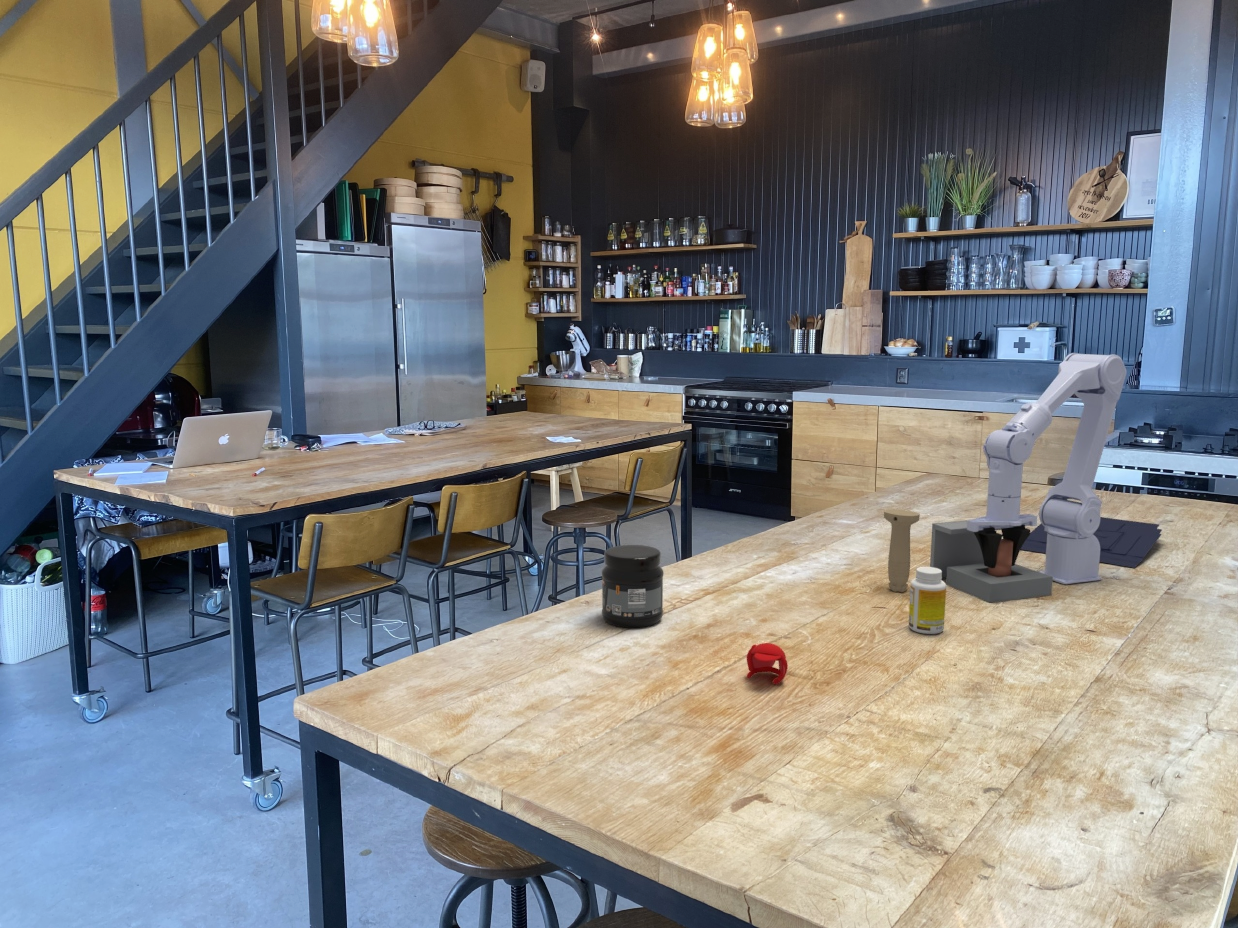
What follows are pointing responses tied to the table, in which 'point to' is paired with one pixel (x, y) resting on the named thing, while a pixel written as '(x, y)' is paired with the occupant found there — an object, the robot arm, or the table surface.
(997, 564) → the peg
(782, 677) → the red toy helmet
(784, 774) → the table surface
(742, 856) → the table surface
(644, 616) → the supplement container
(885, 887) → the table surface
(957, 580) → the socket stand
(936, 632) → the supplement bottle
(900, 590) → the handle
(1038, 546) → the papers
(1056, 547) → the robot arm
